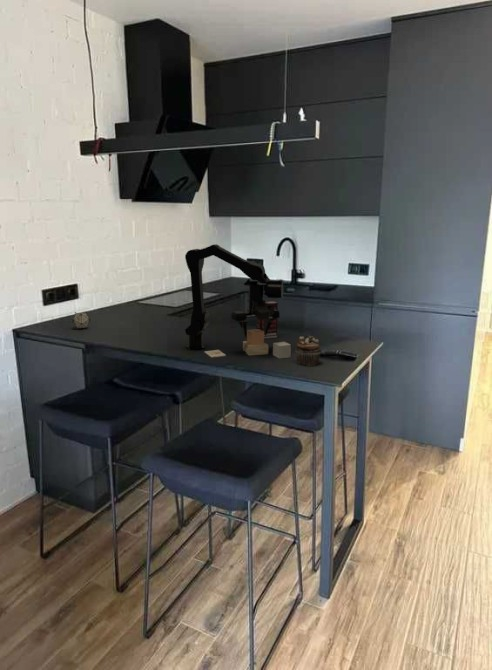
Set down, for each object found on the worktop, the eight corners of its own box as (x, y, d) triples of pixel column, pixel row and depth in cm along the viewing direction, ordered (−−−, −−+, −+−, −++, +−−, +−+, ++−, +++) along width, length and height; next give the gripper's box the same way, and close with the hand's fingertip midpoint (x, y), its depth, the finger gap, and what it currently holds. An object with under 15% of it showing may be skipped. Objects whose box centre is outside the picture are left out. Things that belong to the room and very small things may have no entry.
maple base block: (242, 350, 192) (243, 341, 191) (261, 349, 194) (261, 340, 193) (248, 356, 184) (248, 346, 183) (268, 354, 186) (268, 345, 185)
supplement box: (272, 335, 216) (273, 300, 213) (277, 337, 212) (278, 302, 208) (255, 336, 213) (256, 301, 209) (259, 339, 209) (260, 303, 205)
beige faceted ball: (85, 335, 227) (95, 317, 230) (85, 332, 219) (95, 314, 222) (67, 326, 225) (77, 308, 228) (66, 324, 217) (77, 305, 220)
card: (204, 352, 187) (204, 351, 187) (218, 350, 190) (218, 349, 190) (211, 357, 180) (211, 356, 180) (225, 356, 183) (225, 354, 183)
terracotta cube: (247, 342, 189) (247, 330, 188) (258, 341, 191) (258, 329, 190) (252, 345, 185) (252, 332, 184) (263, 344, 187) (264, 331, 186)
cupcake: (289, 360, 178) (290, 335, 175) (309, 357, 182) (311, 332, 180) (305, 367, 170) (306, 340, 167) (326, 364, 175) (327, 337, 172)
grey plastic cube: (272, 355, 185) (273, 342, 184) (284, 353, 187) (284, 341, 186) (278, 358, 181) (279, 346, 179) (290, 357, 183) (290, 344, 181)
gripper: (242, 301, 173) (242, 343, 177) (287, 298, 180) (286, 338, 184) (230, 297, 183) (230, 336, 186) (273, 294, 190) (272, 332, 194)
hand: (255, 336), depth 187 cm, fingers open, 8 cm apart
